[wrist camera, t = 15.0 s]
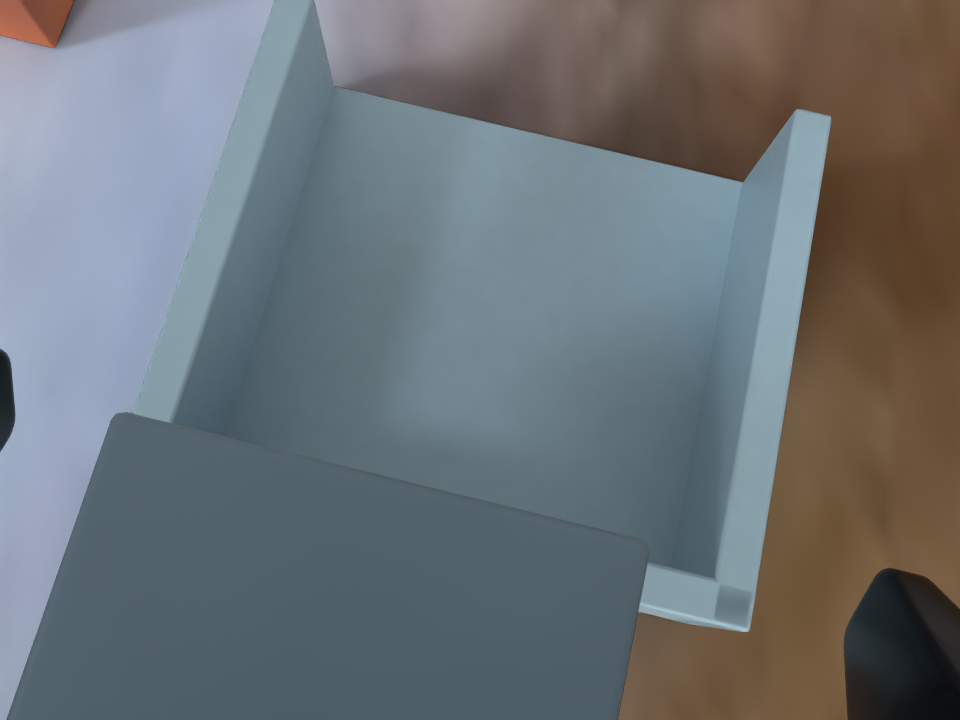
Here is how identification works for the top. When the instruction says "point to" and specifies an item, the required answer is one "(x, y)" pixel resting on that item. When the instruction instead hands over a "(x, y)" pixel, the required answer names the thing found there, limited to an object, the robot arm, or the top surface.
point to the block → (34, 20)
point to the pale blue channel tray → (432, 420)
